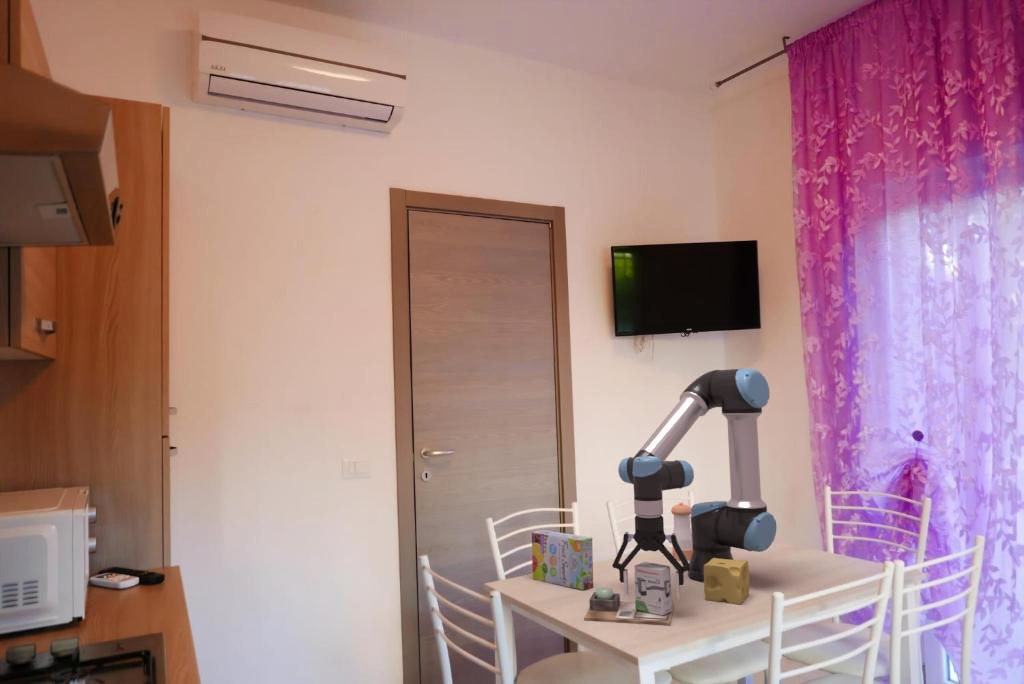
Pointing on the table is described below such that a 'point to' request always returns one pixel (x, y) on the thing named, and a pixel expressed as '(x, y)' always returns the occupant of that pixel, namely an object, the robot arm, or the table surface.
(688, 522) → the salt shaker
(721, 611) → the table surface
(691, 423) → the robot arm
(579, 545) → the snack box
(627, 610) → the wooden tray
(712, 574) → the cheese
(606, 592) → the button
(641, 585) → the ink box
